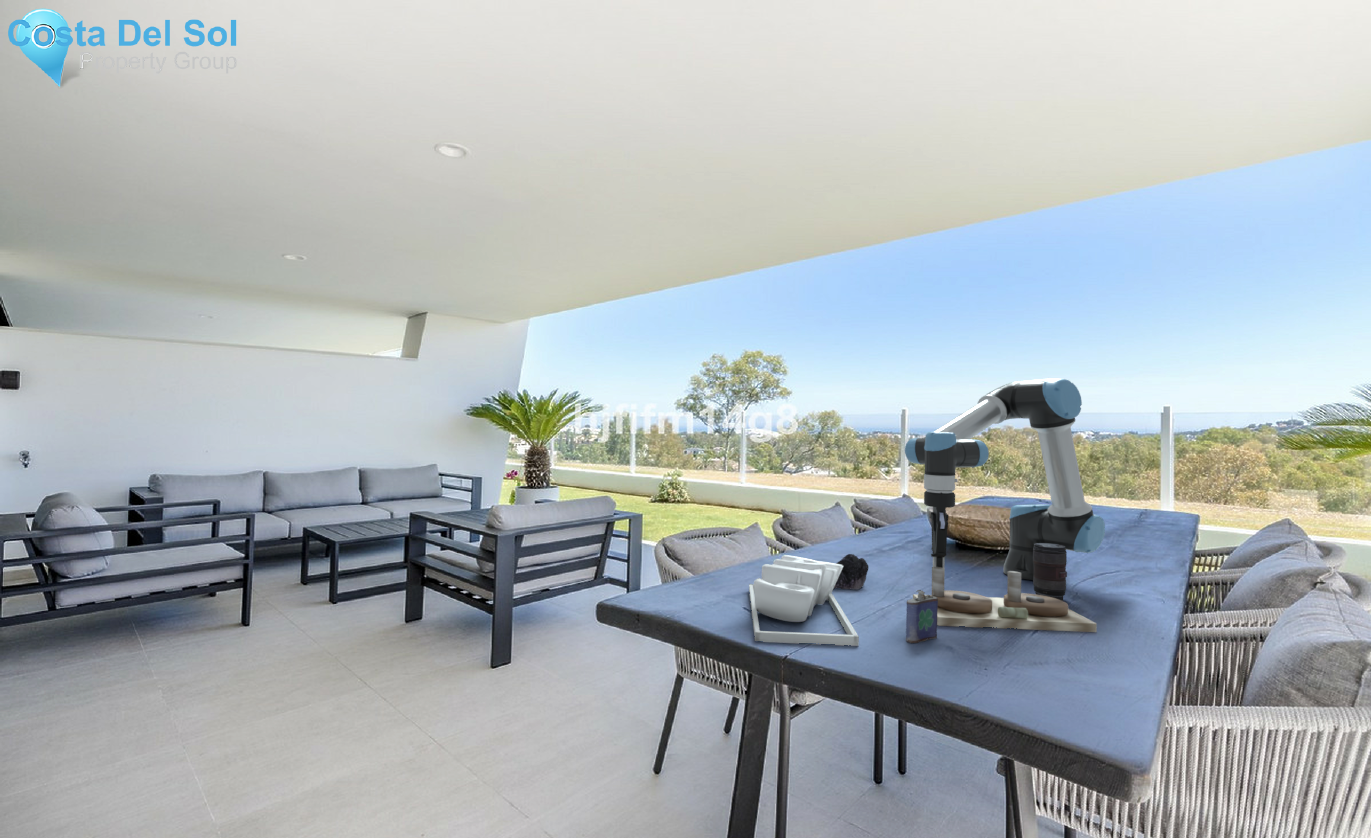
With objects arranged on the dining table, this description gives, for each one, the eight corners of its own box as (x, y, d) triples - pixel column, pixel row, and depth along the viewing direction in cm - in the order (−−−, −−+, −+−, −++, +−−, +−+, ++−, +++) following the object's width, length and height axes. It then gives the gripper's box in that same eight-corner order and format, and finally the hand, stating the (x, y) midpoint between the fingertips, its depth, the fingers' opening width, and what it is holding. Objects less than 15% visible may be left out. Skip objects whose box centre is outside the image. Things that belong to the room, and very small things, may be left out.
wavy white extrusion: (791, 586, 175) (793, 549, 175) (848, 597, 166) (850, 558, 166) (738, 615, 144) (740, 570, 145) (804, 630, 136) (807, 583, 136)
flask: (912, 644, 131) (913, 594, 131) (901, 640, 134) (902, 591, 134) (940, 637, 136) (940, 589, 136) (928, 633, 138) (929, 586, 139)
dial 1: (929, 595, 162) (930, 562, 163) (987, 600, 158) (987, 566, 158) (933, 609, 149) (934, 573, 149) (996, 616, 145) (997, 579, 145)
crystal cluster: (811, 585, 183) (811, 553, 182) (838, 575, 191) (839, 544, 190) (848, 599, 172) (849, 565, 171) (875, 587, 181) (876, 555, 180)
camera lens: (1057, 595, 174) (1057, 542, 174) (1072, 603, 166) (1072, 548, 166) (1027, 593, 175) (1027, 541, 175) (1041, 601, 167) (1041, 547, 167)
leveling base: (1051, 607, 162) (1051, 590, 162) (1096, 632, 142) (1096, 613, 142) (912, 601, 164) (913, 585, 164) (938, 625, 144) (938, 607, 144)
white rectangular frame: (827, 594, 170) (827, 587, 170) (858, 646, 129) (858, 636, 129) (749, 591, 172) (749, 584, 172) (755, 641, 131) (755, 632, 131)
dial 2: (992, 599, 159) (992, 566, 159) (1043, 599, 160) (1043, 566, 160) (1025, 616, 145) (1026, 579, 145) (1081, 616, 146) (1082, 579, 146)
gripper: (959, 494, 151) (958, 589, 151) (951, 488, 164) (949, 576, 164) (927, 493, 153) (926, 586, 153) (921, 487, 166) (920, 574, 166)
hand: (938, 581), depth 159 cm, fingers closed
